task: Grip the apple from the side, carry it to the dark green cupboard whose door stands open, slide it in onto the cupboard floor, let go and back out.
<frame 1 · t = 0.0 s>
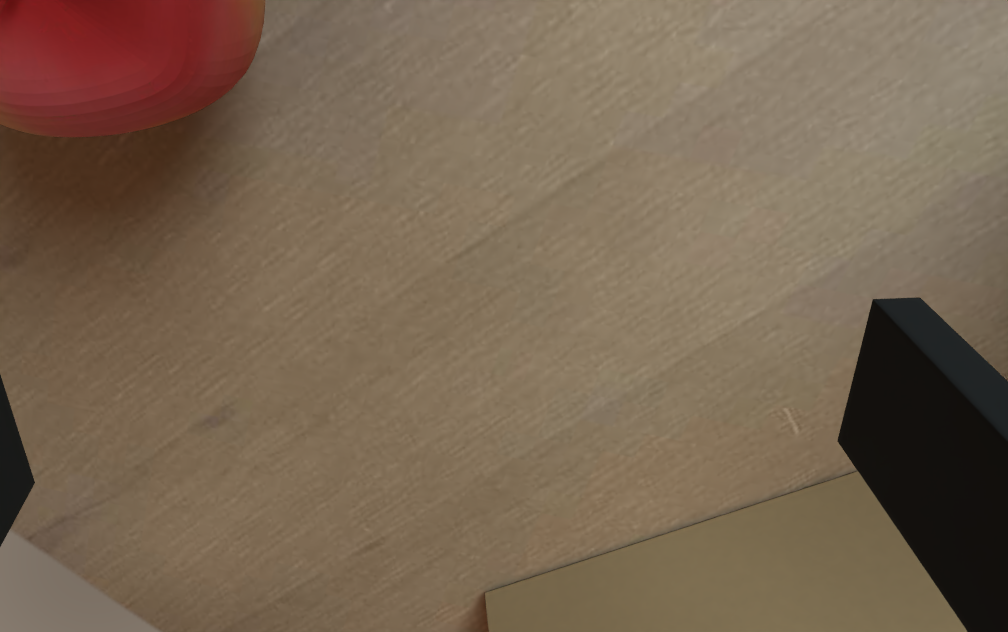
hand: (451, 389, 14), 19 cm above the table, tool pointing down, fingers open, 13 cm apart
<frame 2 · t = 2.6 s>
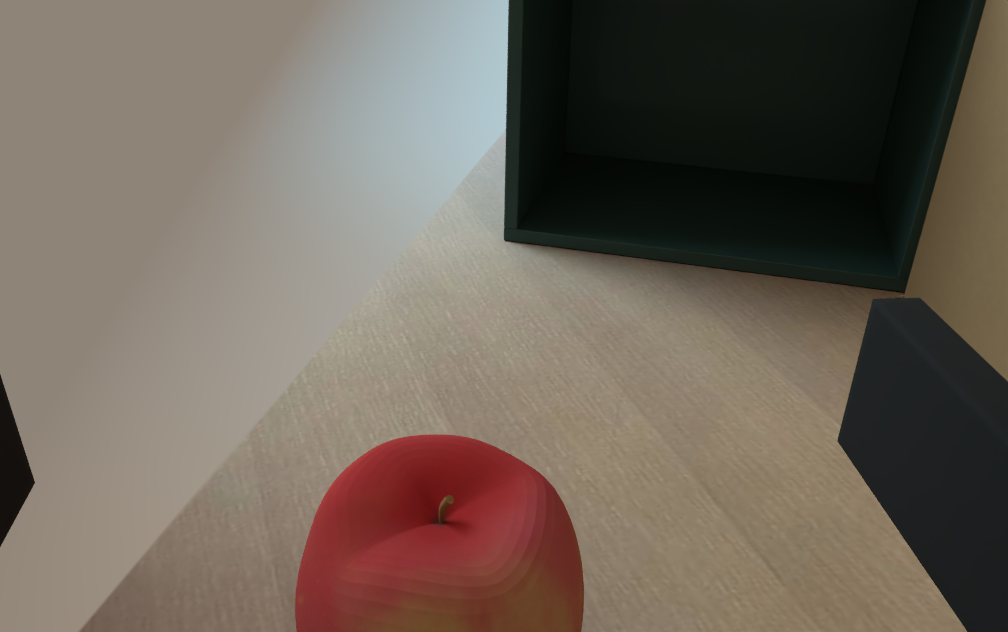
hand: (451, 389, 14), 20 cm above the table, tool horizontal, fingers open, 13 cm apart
cupboard: (705, 215, 70), on the table
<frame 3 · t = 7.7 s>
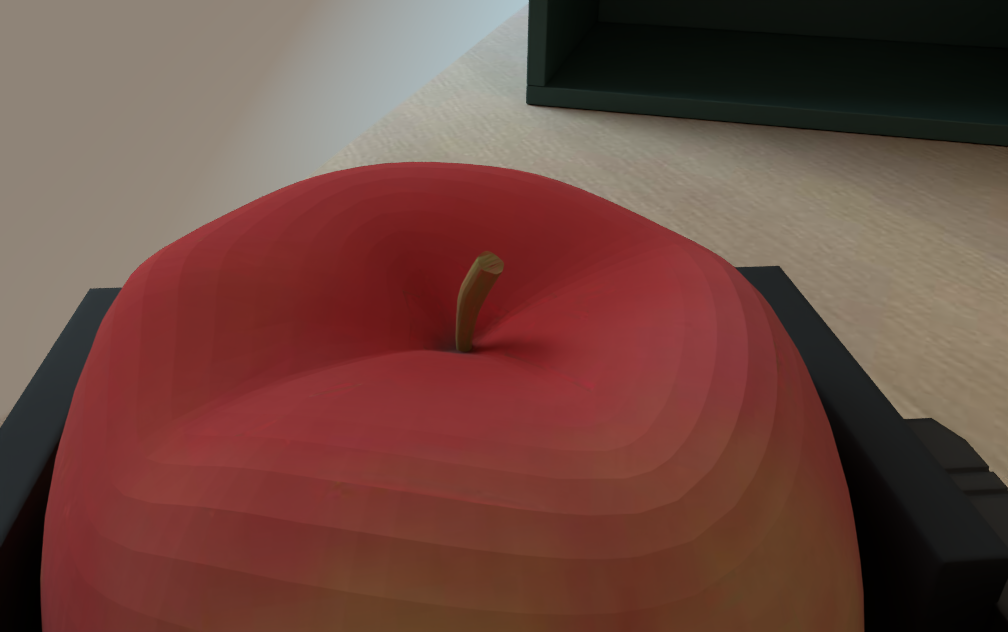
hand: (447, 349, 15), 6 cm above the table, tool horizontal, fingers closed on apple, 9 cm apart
cupboard: (793, 81, 52), on the table
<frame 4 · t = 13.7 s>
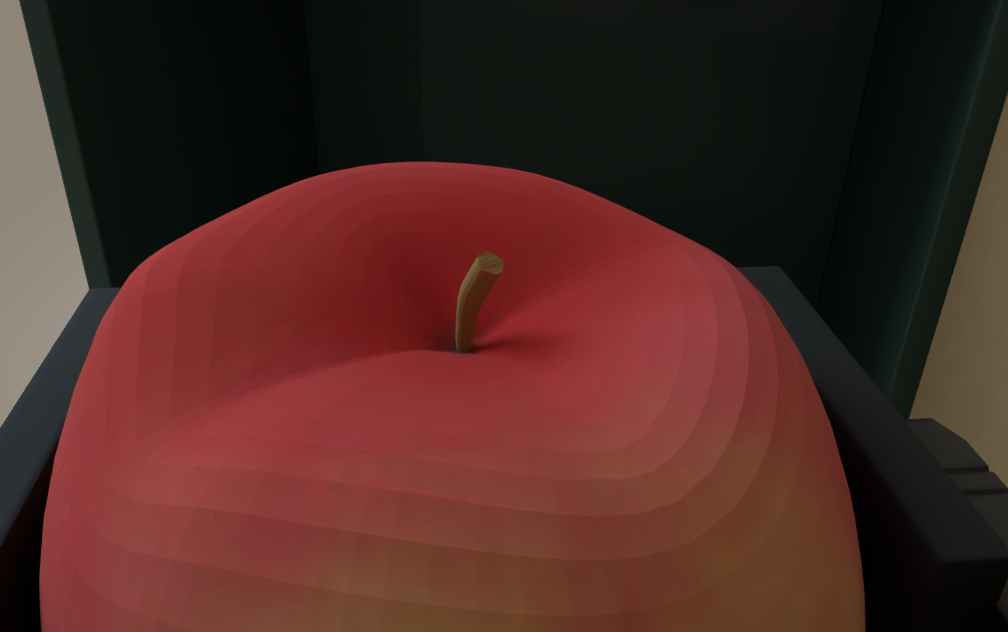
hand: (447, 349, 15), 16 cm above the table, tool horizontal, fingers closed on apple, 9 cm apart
cupboard: (519, 396, 41), on the table
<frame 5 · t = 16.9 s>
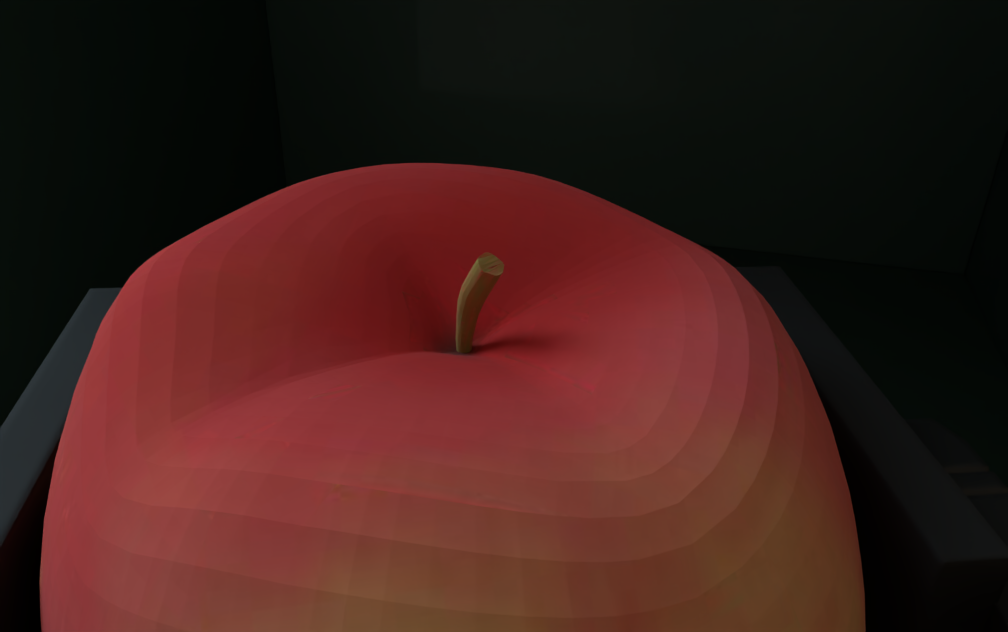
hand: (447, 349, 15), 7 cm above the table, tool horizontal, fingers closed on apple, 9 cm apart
cupboard: (558, 366, 28), on the table
when the fingers open (7 cm above the table, at t = 19.6 s): apple stays where it is, resting on cupboard.
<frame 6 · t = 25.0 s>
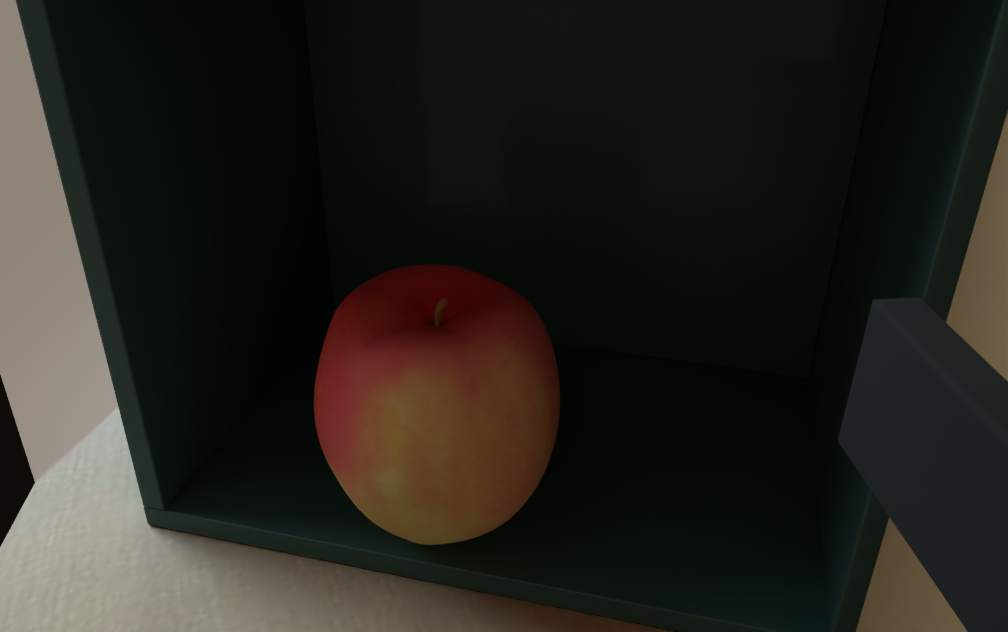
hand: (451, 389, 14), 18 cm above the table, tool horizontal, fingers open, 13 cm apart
cupboard: (523, 448, 42), on the table
apple: (444, 513, 37), point 1 cm above the table, touching cupboard
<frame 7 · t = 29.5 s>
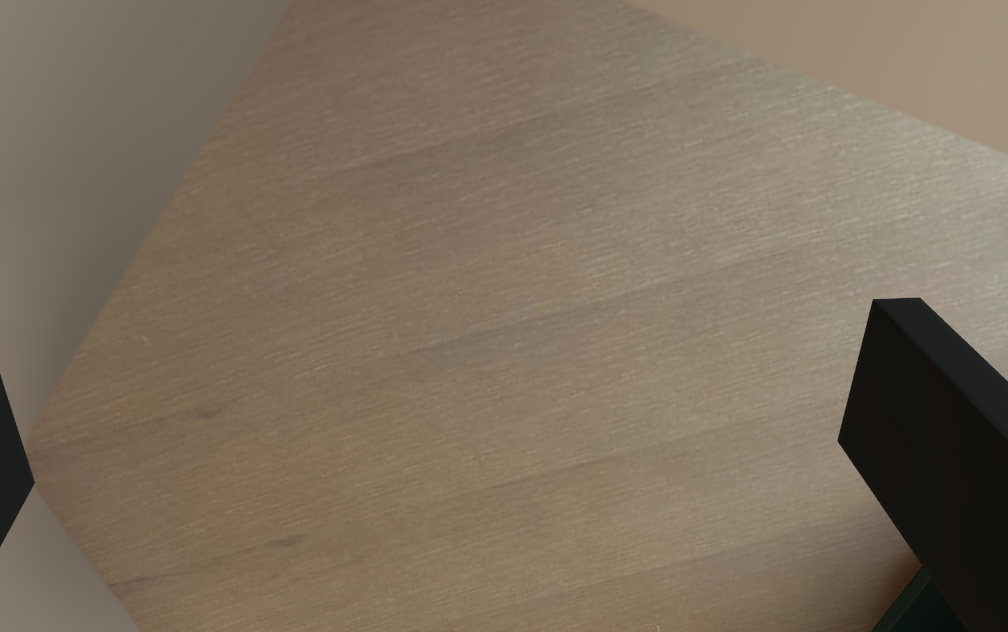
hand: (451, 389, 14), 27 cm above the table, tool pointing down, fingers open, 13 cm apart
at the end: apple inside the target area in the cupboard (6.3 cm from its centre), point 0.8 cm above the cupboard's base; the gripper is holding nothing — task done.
